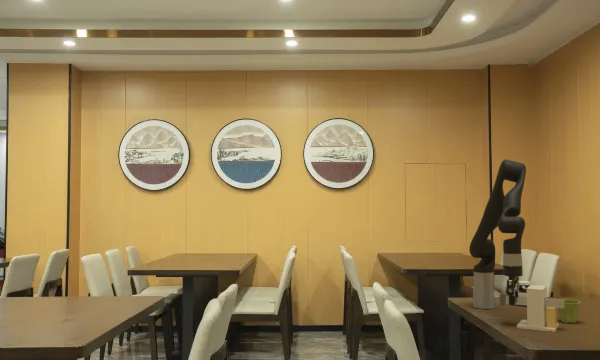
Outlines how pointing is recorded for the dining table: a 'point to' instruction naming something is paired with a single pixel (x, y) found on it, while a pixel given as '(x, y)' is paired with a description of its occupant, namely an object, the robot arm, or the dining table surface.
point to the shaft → (523, 301)
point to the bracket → (536, 310)
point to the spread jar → (523, 289)
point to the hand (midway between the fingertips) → (513, 303)
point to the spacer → (551, 317)
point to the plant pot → (569, 311)
